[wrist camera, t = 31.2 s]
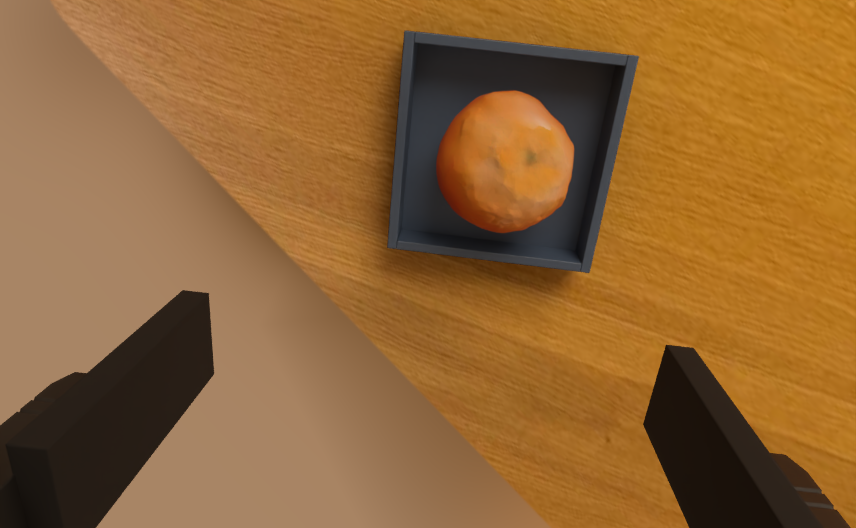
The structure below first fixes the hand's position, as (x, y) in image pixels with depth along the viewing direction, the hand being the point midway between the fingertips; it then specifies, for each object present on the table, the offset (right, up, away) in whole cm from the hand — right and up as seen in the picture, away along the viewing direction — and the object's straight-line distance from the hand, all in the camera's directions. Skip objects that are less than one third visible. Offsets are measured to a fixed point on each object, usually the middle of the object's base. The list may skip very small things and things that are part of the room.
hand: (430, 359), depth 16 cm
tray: (+5, +10, +20) cm, 23 cm away
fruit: (+5, +10, +20) cm, 23 cm away
